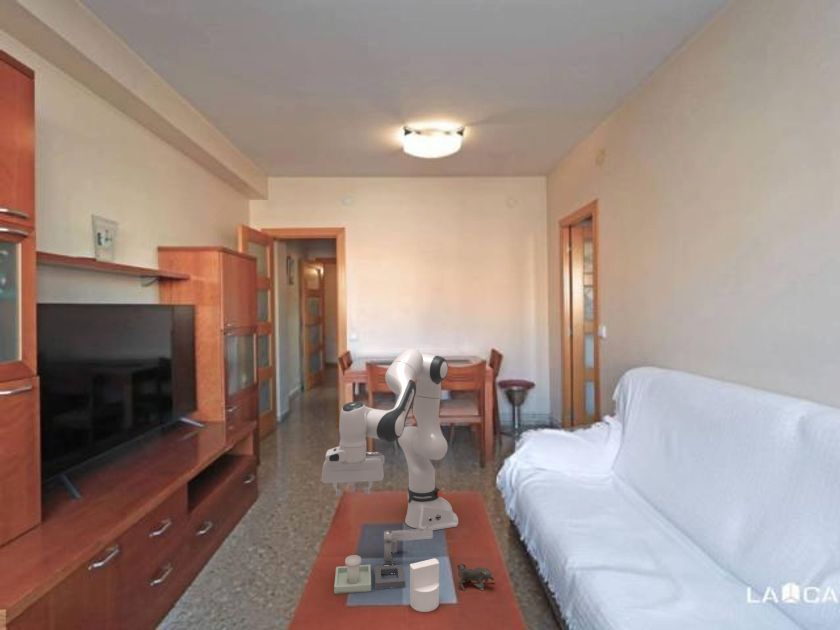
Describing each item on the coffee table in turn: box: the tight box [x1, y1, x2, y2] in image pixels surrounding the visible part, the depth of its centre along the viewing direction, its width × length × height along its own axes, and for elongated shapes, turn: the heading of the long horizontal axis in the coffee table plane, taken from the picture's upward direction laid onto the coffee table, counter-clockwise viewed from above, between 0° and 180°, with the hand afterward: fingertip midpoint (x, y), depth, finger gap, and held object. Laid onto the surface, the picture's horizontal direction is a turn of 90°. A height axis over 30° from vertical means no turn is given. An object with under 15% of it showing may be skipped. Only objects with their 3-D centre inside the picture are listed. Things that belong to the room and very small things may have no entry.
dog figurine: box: [457, 563, 495, 592], centre depth 149 cm, size 12×6×7 cm, turn 85°
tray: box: [333, 564, 372, 595], centre depth 152 cm, size 12×12×2 cm
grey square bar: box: [383, 528, 434, 543], centre depth 164 cm, size 17×3×3 cm, turn 98°
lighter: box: [391, 541, 401, 553], centre depth 170 cm, size 7×2×8 cm, turn 83°
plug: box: [344, 554, 362, 584], centre depth 151 cm, size 5×5×7 cm
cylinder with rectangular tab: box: [409, 557, 440, 613], centre depth 141 cm, size 9×9×12 cm
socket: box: [374, 542, 406, 590], centre depth 156 cm, size 10×17×8 cm, turn 7°
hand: (352, 494), depth 151 cm, fingers open, 8 cm apart
